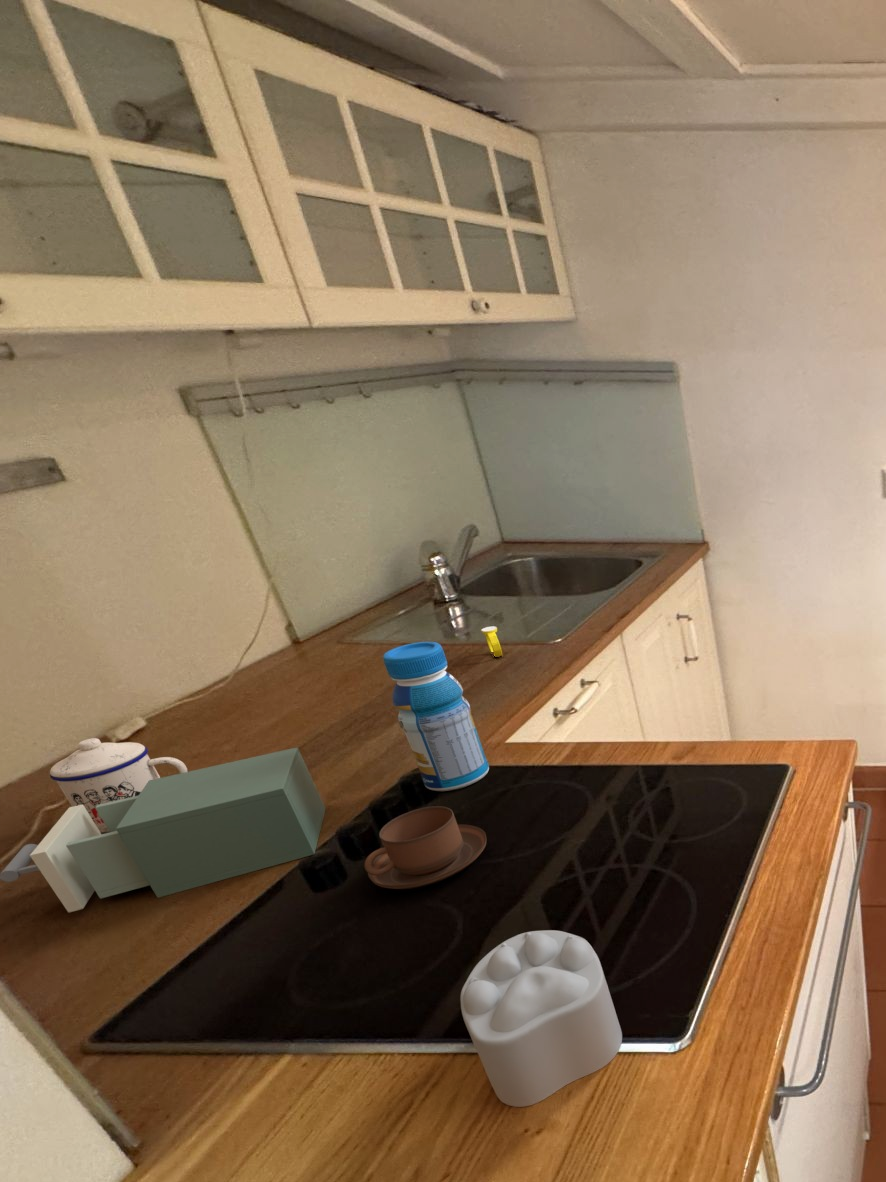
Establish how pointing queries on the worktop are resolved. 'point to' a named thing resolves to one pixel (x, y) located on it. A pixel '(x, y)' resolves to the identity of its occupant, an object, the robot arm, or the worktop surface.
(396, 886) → the cup and saucer
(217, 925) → the worktop surface
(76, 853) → the drawer
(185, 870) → the cabinet
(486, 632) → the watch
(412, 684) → the beverage bottle
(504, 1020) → the lumpy-topped squat cylinder
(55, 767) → the teacup with lid
